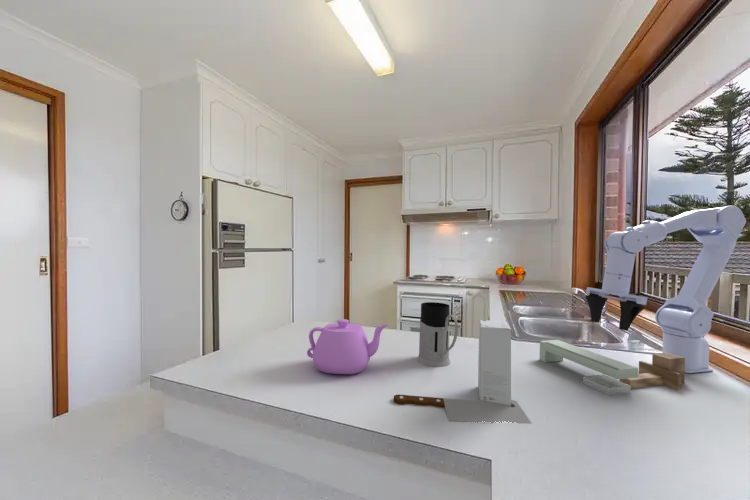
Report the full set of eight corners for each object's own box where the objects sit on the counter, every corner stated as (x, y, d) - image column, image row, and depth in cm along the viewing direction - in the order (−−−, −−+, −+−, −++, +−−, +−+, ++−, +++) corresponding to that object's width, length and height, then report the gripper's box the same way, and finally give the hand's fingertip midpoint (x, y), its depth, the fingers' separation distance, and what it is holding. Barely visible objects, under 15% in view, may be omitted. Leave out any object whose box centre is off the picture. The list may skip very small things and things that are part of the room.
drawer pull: (557, 358, 87) (557, 338, 87) (637, 392, 66) (638, 366, 66) (539, 359, 85) (540, 339, 85) (616, 394, 65) (617, 368, 65)
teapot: (297, 376, 69) (299, 324, 69) (314, 356, 83) (315, 312, 83) (385, 382, 68) (387, 329, 68) (388, 360, 81) (389, 316, 81)
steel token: (603, 383, 72) (603, 374, 72) (630, 395, 66) (630, 385, 66) (582, 385, 70) (583, 376, 70) (609, 397, 64) (609, 388, 64)
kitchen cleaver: (391, 417, 53) (394, 388, 63) (391, 423, 53) (394, 393, 63) (540, 431, 50) (518, 399, 60) (540, 438, 50) (518, 404, 60)
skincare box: (511, 408, 58) (514, 329, 58) (477, 402, 60) (480, 326, 60) (506, 389, 66) (508, 320, 66) (477, 384, 68) (479, 317, 68)
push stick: (656, 373, 77) (656, 349, 77) (696, 387, 70) (697, 361, 70) (607, 378, 73) (608, 353, 73) (644, 394, 65) (645, 365, 65)
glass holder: (438, 353, 88) (440, 301, 88) (470, 372, 74) (472, 311, 74) (411, 356, 85) (413, 302, 85) (439, 377, 71) (441, 312, 71)
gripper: (581, 270, 88) (573, 316, 88) (636, 276, 74) (626, 332, 74) (600, 274, 90) (592, 319, 90) (656, 281, 76) (647, 335, 76)
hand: (608, 325), depth 82 cm, fingers open, 7 cm apart
